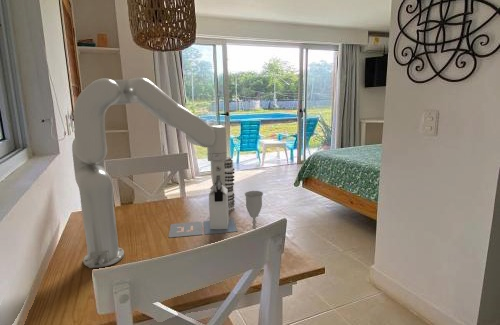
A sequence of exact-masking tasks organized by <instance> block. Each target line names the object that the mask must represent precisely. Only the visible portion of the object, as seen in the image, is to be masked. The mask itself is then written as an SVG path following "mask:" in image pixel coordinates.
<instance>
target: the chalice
mask: <svg viewBox="0 0 500 325" xmlns="http://www.w3.org/2000/svg"><path fill="white" fill-rule="evenodd" d="M263 195H264V193H263V191H260V190H250V191H249V190H248V191H245V193H244V196H245V207H246V210H247V212H248V215H249V216H250V218H252V226H251V227H252V230H253V229H255V230H257V229H256V228H257V225H256V223H257V221H256V220H257V219H256V218H257V217H258V216H259V214H261V209H262V207H263Z"/></svg>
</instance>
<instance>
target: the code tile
mask: <svg viewBox="0 0 500 325" xmlns="http://www.w3.org/2000/svg"><path fill="white" fill-rule="evenodd" d="M202 225H203V222H202V221H192V222H191V221H190V222H182V223H181V222H180V223H179V222H178V223H171V224H170V228H169V233H168V239H170V238H183V237H193V236H202V235H203V228H202V227H203V226H202Z"/></svg>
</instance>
